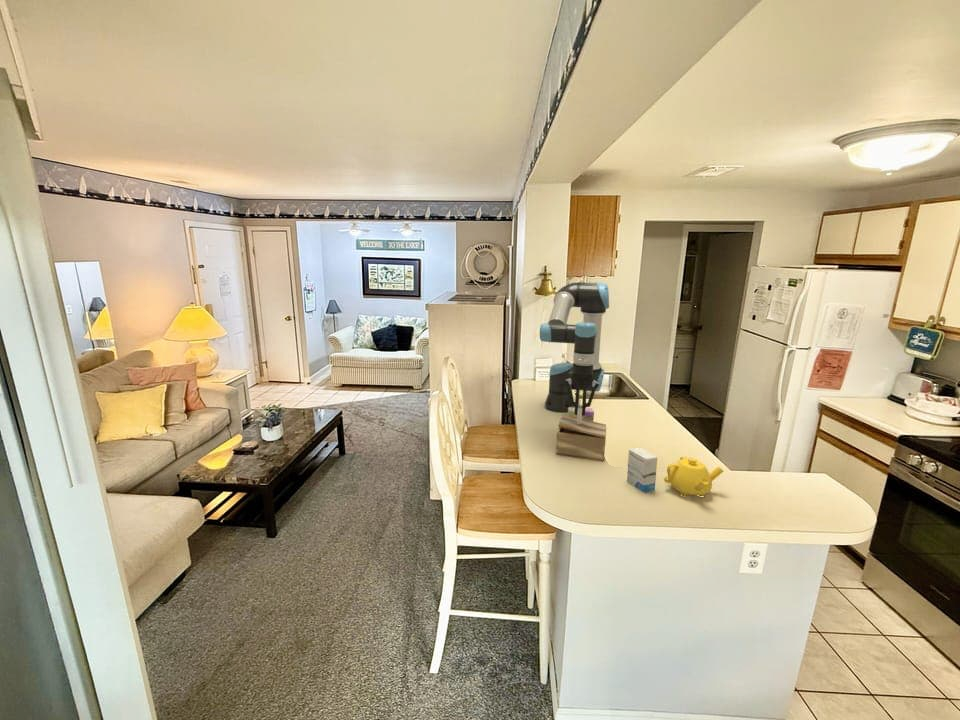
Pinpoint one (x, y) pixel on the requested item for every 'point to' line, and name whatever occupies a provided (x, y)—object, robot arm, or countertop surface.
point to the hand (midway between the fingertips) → (579, 422)
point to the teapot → (691, 476)
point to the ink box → (642, 469)
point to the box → (588, 415)
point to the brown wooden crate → (580, 444)
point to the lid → (583, 426)
